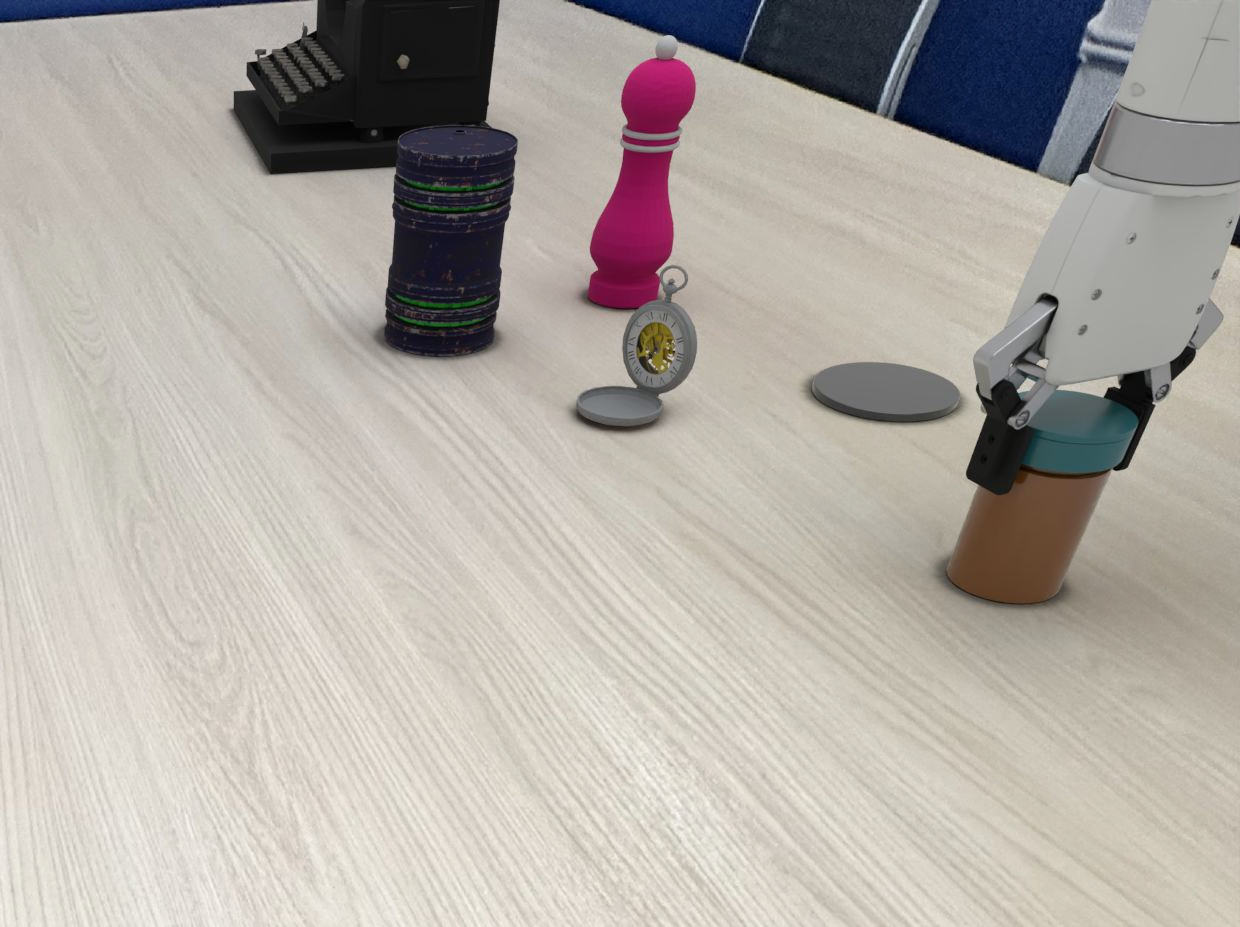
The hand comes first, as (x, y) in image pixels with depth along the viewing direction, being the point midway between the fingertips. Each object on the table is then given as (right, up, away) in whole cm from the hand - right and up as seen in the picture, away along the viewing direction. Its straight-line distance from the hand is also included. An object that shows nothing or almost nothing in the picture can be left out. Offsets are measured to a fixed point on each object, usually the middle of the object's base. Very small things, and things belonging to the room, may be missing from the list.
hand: (1045, 473), depth 88 cm
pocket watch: (-18, +15, +26) cm, 35 cm away
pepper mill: (-12, +34, +44) cm, 57 cm away
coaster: (+3, +17, +27) cm, 32 cm away
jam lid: (0, +2, -2) cm, 3 cm away
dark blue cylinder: (-30, +28, +38) cm, 56 cm away
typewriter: (-31, +78, +88) cm, 121 cm away
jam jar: (0, -5, +5) cm, 7 cm away
